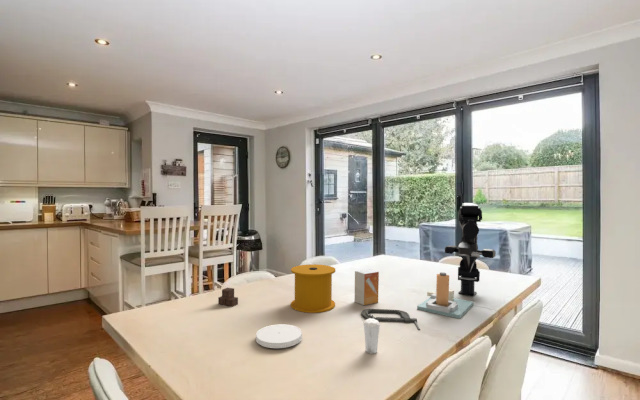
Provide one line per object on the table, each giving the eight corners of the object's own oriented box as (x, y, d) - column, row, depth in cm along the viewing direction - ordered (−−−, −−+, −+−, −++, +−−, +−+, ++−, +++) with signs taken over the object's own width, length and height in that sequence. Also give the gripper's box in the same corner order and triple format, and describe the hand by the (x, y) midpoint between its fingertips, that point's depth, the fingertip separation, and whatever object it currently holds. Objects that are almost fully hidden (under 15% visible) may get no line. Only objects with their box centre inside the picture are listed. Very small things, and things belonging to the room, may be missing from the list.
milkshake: (359, 348, 97) (359, 314, 97) (377, 347, 98) (377, 313, 98) (362, 355, 93) (362, 319, 93) (381, 354, 93) (381, 319, 93)
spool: (344, 305, 136) (344, 268, 136) (313, 316, 123) (313, 276, 122) (312, 295, 148) (312, 262, 148) (281, 305, 135) (281, 268, 135)
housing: (434, 297, 147) (434, 290, 147) (473, 304, 137) (473, 297, 137) (417, 309, 131) (417, 301, 131) (459, 318, 121) (459, 310, 121)
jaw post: (435, 304, 133) (436, 271, 133) (447, 305, 132) (448, 272, 132) (436, 308, 129) (437, 274, 128) (448, 309, 127) (449, 275, 127)
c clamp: (415, 313, 128) (415, 306, 128) (420, 332, 111) (420, 323, 111) (362, 310, 131) (362, 303, 131) (359, 327, 114) (359, 319, 114)
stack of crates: (255, 302, 141) (255, 285, 140) (232, 313, 127) (232, 295, 127) (227, 297, 147) (227, 281, 147) (202, 307, 133) (202, 290, 133)
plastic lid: (306, 348, 98) (306, 340, 98) (258, 354, 94) (258, 345, 94) (297, 329, 111) (297, 322, 111) (254, 334, 107) (254, 326, 107)
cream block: (429, 294, 146) (429, 285, 146) (453, 299, 140) (454, 290, 139) (426, 296, 144) (426, 287, 144) (451, 301, 137) (451, 291, 137)
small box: (364, 306, 135) (364, 273, 134) (354, 301, 140) (354, 270, 140) (378, 302, 139) (379, 271, 139) (368, 298, 144) (368, 268, 144)
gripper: (440, 234, 138) (440, 272, 138) (490, 238, 127) (489, 279, 127) (448, 232, 147) (448, 267, 147) (496, 235, 136) (495, 274, 136)
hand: (469, 272), depth 139 cm, fingers closed
